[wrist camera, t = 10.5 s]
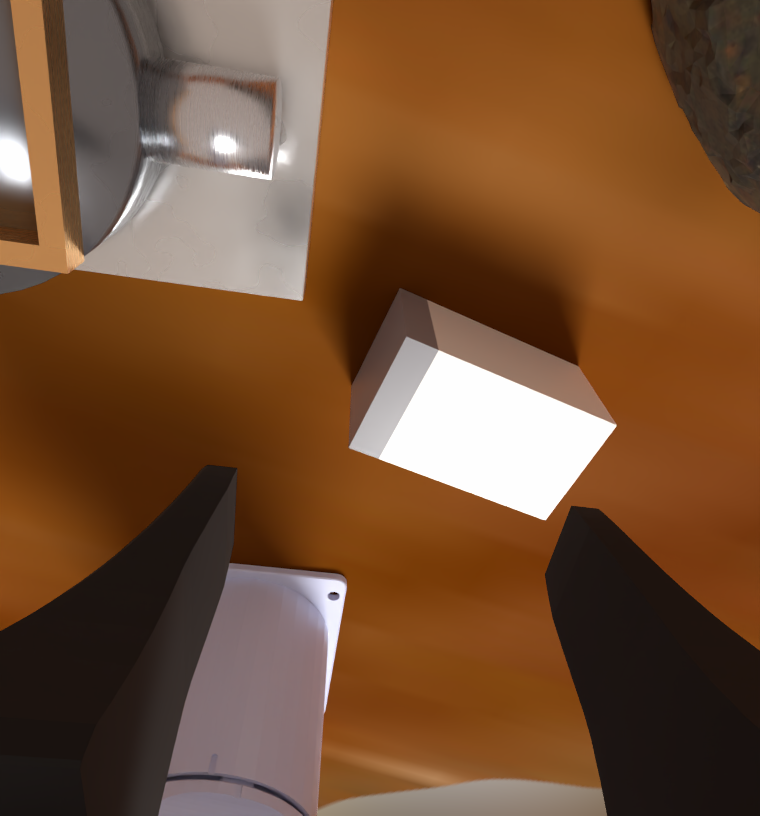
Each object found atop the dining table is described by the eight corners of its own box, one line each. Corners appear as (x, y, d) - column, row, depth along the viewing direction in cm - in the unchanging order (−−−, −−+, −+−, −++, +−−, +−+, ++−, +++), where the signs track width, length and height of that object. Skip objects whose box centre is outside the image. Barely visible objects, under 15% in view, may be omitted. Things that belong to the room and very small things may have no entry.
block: (544, 520, 21) (348, 447, 19) (519, 451, 24) (351, 385, 23) (616, 425, 19) (406, 336, 17) (578, 365, 22) (400, 287, 21)
